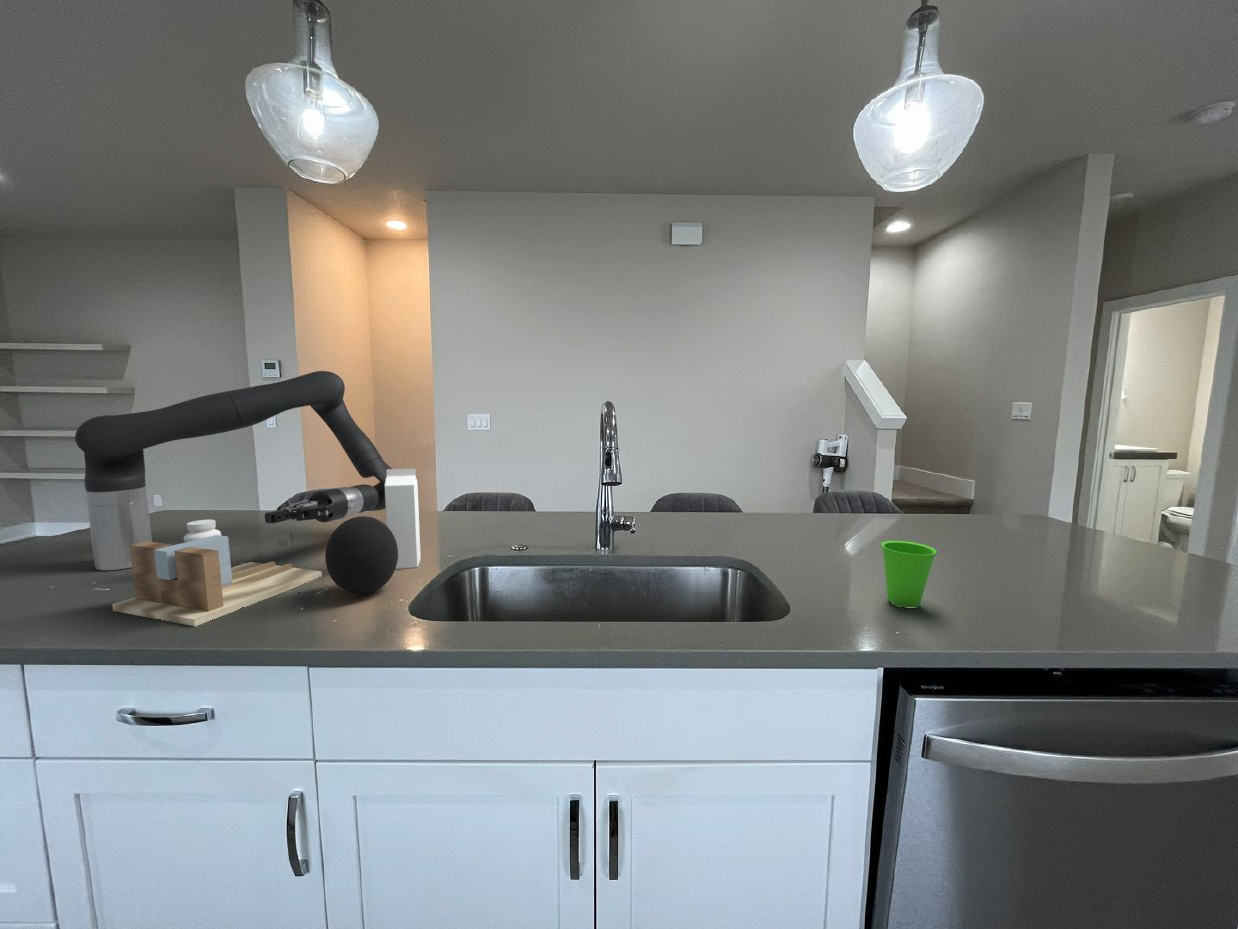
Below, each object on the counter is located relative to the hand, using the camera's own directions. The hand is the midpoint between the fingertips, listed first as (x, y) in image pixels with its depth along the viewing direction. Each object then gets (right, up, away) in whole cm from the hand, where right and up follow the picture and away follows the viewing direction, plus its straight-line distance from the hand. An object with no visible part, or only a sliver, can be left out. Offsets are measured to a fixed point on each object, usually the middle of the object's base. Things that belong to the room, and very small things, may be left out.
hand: (267, 518), depth 101 cm
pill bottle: (-16, -12, +4) cm, 20 cm away
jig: (-3, -13, -7) cm, 15 cm away
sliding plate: (-4, -13, -12) cm, 18 cm away
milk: (+24, -12, +10) cm, 29 cm away
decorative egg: (+24, -14, -6) cm, 28 cm away
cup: (+127, -15, -9) cm, 128 cm away
